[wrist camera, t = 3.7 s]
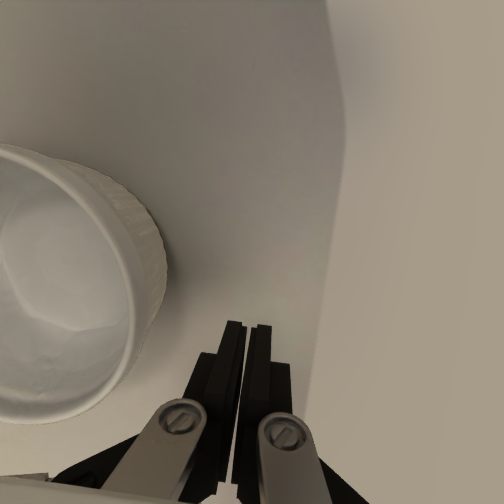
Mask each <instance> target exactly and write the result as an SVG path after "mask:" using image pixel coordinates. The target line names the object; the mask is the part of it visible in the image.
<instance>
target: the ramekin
mask: <svg viewBox="0 0 504 504" xmlns="http://www.w3.org/2000/svg"><path fill="white" fill-rule="evenodd" d="M167 269H168V266H167V262H166V252H165V250H164V248H163V240H162V238H161V237H160V234H159V230H158V228H157V227H156V225H155V223H154V221H153V219H152V217H151V216H150V215H149V214H148V212H147V211H146V209H145V207H144V206H143V205H142V204H141V203H140V202H139V201H138V200H137V198H136V197H135V196H134V195H133V194H131V193H129V192H128V191H127V189H126V188H125V187H124V186H123V185H121V184H119V183H116V182H115V181H114V180H113V179H112V178H111V177H109V176H106V175H103V174H102V173H100V172H99V171H97V170H94V169H91V168H88V167H86V166H84V165H81V164H78V163H74V162H70V161H65V160H60V159H55V158H50V157H46V156H44V155H42V154H40V153H37V152H34V151H31V150H29V149H26V148H22V147H19V146H14V145H10V144H5V143H0V422H4V423H10V424H21V425H39V424H49V423H55V422H59V421H63V420H67V419H70V418H73V417H75V416H78V415H80V414H82V413H84V412H86V411H88V410H90V409H91V408H93V407H94V406H96V405H97V404H99V403H100V402H101V401H103V400H104V399H105V398H106V397H107V396H108V395H109V394H110V393H111V392H112V391H113V390H114V389H115V388H116V386H117V385H118V384H119V383H120V382H121V381H122V380H123V378H124V377H125V376H126V374H127V373H128V372H129V370H130V369H131V368H132V366H133V364H134V363H135V361H136V359H137V357H138V355H139V353H140V351H141V348H142V346H143V343H144V339H145V336H146V333H147V331H148V330H149V328H150V326H151V324H152V322H153V320H154V319H155V317H156V315H157V313H158V310H159V308H160V306H161V304H162V301H163V296H164V294H165V291H166V282H167Z"/></svg>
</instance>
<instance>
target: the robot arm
mask: <svg viewBox="0 0 504 504" xmlns="http://www.w3.org/2000/svg"><path fill="white" fill-rule="evenodd" d="M246 334H247V327H246V326H242V322H237V321H229V320H228V321H227V324H226V327H225V331H224V334H223V337H222V340H221V343H220V346H219V349H218V352H217V354H212V353H205V352H201V354H200V356H199V358H198V361H197V363H196V365H195V368H194V370H193V373H192V375H191V378H190V380H189V382H188V385H187V387H186V390H185V392H184V395H183V397H182V398H181V399H174V400H171V401H168V402H166V403H165V404H163V405H161V406H160V407H159V408H158V409H157V410H156V412H155V413H154V415H153V416H152V417H151V419H150V420H149V422H148V423H147V424H146V426H145V427H144V429H143V430H142V431H141V433H140V434H137V435H135V436H133V437H131V438H129V439H127V440H125V441H123V442H121V443H119V444H117V445H115V446H112V447H110V448H108V449H106V450H104V451H102V452H100V453H98V454H96V455H94V456H92V457H90V458H87V459H85V460H83V461H81V462H79V463H77V464H75V465H73V466H71V467H69V468H67V469H66V470H64V471H62V472H61V473H59V474H58V475H57V476H56V477H55V478H49V476H48V473H38V474H24V475H10V476H0V504H201V502H202V501H203V500H205V499H206V498H207V497H209V496H210V495H212V494H213V495H216V492H217V486H218V481H219V482H225V481H226V475H227V469H228V463H229V457H230V451H231V445H232V439H233V433H234V427H235V421H236V415H237V409H238V403H239V397H240V403H239V412H238V422H237V431H236V441H235V450H234V459H233V469H232V478H231V483H232V484H238V489H237V498H238V499H239V500H240V502H241V503H242V504H369V503H368V502H367V501H366V500H365V499H364V498H363V497H361V496H360V495H359V494H358V493H357V492H356V491H355V490H354V489H353V488H352V487H351V486H349V485H348V484H347V483H346V482H345V481H344V480H343V479H342V478H341V477H340V476H339V475H338V474H336V473H335V472H334V471H333V470H332V469H331V468H330V467H329V466H328V465H327V464H326V463H324V462H323V461H322V460H321V459H320V458H319V457H318V455H317V451H316V448H315V444H314V441H313V438H312V434H311V432H310V430H309V428H308V426H307V425H306V424H305V423H304V422H303V421H302V420H301V419H299V418H298V417H297V416H294V415H293V413H292V396H291V379H290V365H289V364H287V363H279V362H272V361H270V360H271V334H272V326H268V325H260V324H258V326H257V328H254V327H252V328H251V334H250V340H249V346H248V352H247V358H246V365H245V371H244V377H243V383H242V389H241V381H242V371H243V362H244V352H245V343H246ZM240 390H241V396H240Z"/></svg>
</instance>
